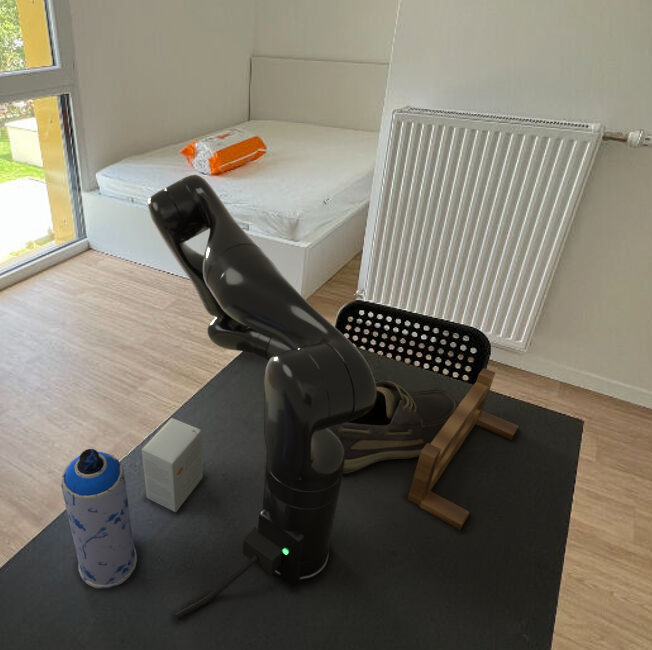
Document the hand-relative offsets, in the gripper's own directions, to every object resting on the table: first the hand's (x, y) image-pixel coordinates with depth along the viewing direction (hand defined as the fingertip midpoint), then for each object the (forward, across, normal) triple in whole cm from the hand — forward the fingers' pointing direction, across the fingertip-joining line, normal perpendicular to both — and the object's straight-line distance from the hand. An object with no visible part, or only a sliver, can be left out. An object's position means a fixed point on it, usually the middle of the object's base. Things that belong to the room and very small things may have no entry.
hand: (380, 390), depth 92 cm
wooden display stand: (+16, 0, +7) cm, 17 cm away
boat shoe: (+4, -4, +7) cm, 9 cm away
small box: (-16, -35, +7) cm, 39 cm away
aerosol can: (-14, -50, +7) cm, 52 cm away
